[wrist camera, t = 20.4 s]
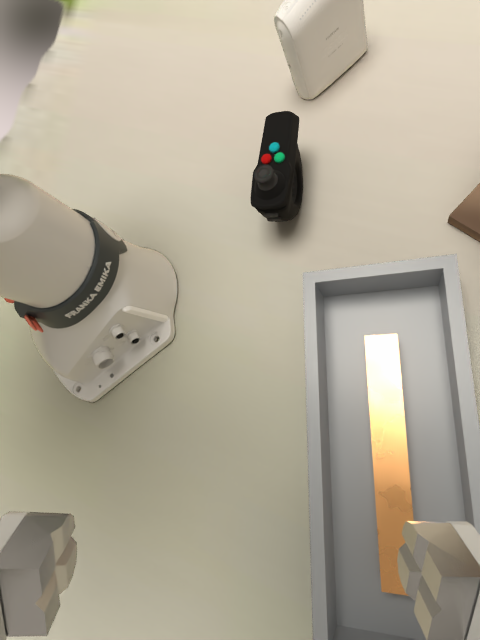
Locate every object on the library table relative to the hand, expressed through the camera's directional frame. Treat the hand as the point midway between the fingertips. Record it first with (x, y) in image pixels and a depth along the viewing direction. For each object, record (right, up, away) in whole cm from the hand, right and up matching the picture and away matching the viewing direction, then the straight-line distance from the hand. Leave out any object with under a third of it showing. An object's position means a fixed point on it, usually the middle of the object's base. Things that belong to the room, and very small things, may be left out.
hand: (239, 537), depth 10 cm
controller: (+7, +21, +41) cm, 47 cm away
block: (+15, -7, +29) cm, 33 cm away
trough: (+15, -7, +30) cm, 34 cm away
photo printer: (+12, +38, +43) cm, 59 cm away
